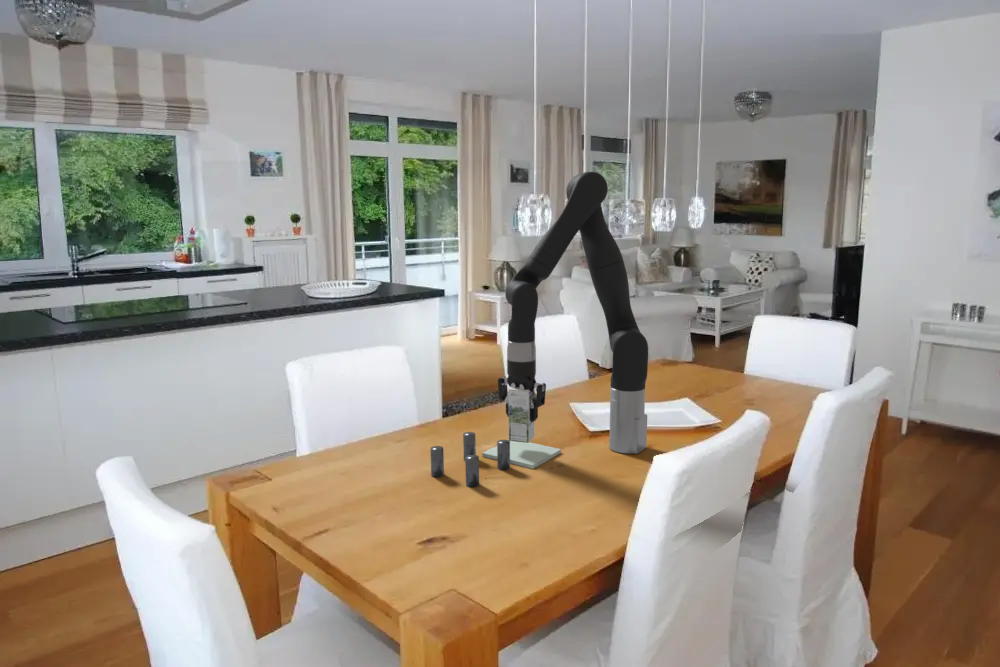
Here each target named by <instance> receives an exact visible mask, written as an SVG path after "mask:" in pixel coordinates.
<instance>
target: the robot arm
mask: <svg viewBox="0 0 1000 667" xmlns="http://www.w3.org/2000/svg"><path fill="white" fill-rule="evenodd" d="M608 188H609V187H608V182H607V180H606V179H605V177H604V176H603V175H602V174H601V173H599V172H597V171H584V172H582V173H579V174H576V175H575V176H573V177H572V178H571V179H570V180H569V181H568V184H567V185H566V189H565V190H566V192H565V193H566V199H567V202H566V205H565V206H564V208H563V210H562V211H561V213H560V214H559V216H558V217H557V218H556V220H555V221H554V222H553V224H552V225H551V226H550V228H549V229H548V230H547V231H546V232H545V233H544V234H543V235H542V237H541V239H540V240H539V241H538V243H537V244H536V245H535V247H534V249H533V250H532V252H531V253H530V255H529V256H528V258H527V260H526V262H525V263H524V265H523V266H522V267H520V269H519V270H518V272H516V274H514V276H513V277H512V278H511V279H510V282H509V283H508V285H507V287H506V289H505V299H506V301H507V302H508V304H509V305H511V319H509V320H508V324H507V347H506V357H507V359H506V367H507V368H506V373H507V375H508V377H507V376H501V377H499V378H498V379H497V388H498V389H497V390H498V399H499V400H500V401H503V402H504V403H505V414H506V415H507V416H506V417H507V418H509V396H508V390H509V389H508V386H509V388H510V387H512V388H515V387H518V388H520V389H521V390H526V389H528V390H530V391H531V392H532V393H533V394H532V396H530V397H529V400H530V407H531V408H530V421H531V422H534V423H535V422H536V421H537V420H538V417H539V408H540V407H542V406H544V405H546V404H545V403H546V390H547V384H546V383H545V382H543V383H539V382H537V380H536V374H537V348H536V319H537V314H538V307H539V296H538V295H539V293H538V290H537V288H538V287H539V285H540V284H541V282H542V281H545V280H547V279H548V278H549V277H550V276H551V275H552V273H553V271H554V269H555V268H556V266H557V265H558V263H559V262H560V260H561V258H562V257H563V255H564V254H565V252H566V250H567V248H569V245H570V244H571V242H572V241H573V239H574V238H575V236H576V235H577V233H578V232H579V233H580V236H581V237H580V239H581V242H582V246H583V250H584V255H585V259H586V262H587V267H588V271H589V274H590V278H591V281H592V284H593V287H594V290H595V292H596V296H597V298H598V301H599V303H600V306H601V308H602V310H603V315H604V316H605V322H606V326H607V328H606V329H607V332H608V333H607V334H608V340H609V345H610V346H609V347H610V350H611V353H612V372H611V377H610V387H609V388H610V392H609V393H610V396H609V397H610V399H609V440H608V441H609V447H608V448H609V449H610V450H612V451H613V452H616V453H620V454H636V455H638V454H640V453H642V452H643V451H644V450H645V449H647V444H648V443H647V442H648V440H647V438H648V435H647V434H648V414H646V413H645V408H646V406H645V405H646V404H645V403H646V382H647V379H648V378H647V377H648V367H649V366H648V365H649V345H648V344H649V343H648V340H647V339H646V337H645V336H644V334H642V333H641V330H640V328H639V326H638V323H637V321H636V318H635V316H634V313H633V310H632V309H633V308H632V307H631V300H630V299H631V297H630V285H629V284H630V283H629V278H628V272H627V268H626V266H625V261H624V258H623V254H622V252H621V250H620V248H619V245H618V244H617V242H616V240H615V238H614V236H613V235H612V233H611V231H610V229H609V228H608V227H609V226H607V223H606V220H605V215H604V211H603V208H602V203H604V201H605V199H606V198H607V195H608V190H609V189H608ZM534 388H535V391H534Z"/></svg>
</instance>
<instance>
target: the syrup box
mask: <svg viewBox="0 0 1000 667" xmlns="http://www.w3.org/2000/svg"><path fill="white" fill-rule="evenodd" d="M507 390H508V396H509V417H508V440H509V441H516V442H525V443H529V442H531V441H532V440H533V439H534V438H535V431H536V430H535V421H534V422H531V421H530V408H531V407H530V400H529V397H530V396H532V394H533V393H532V392H531V391H530V390H528V389H526V390H521V389H520V388H518V387H515V388H512V387H510V386H509V388H508V389H507ZM534 391H535V392H536V388H534Z"/></svg>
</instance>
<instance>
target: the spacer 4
mask: <svg viewBox="0 0 1000 667" xmlns="http://www.w3.org/2000/svg"><path fill="white" fill-rule="evenodd" d="M496 446H497V460H496V461H497V469H498V470H499V471H509V470H510V469H511V463H510V441H509V439H499V440H497V442H496Z"/></svg>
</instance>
